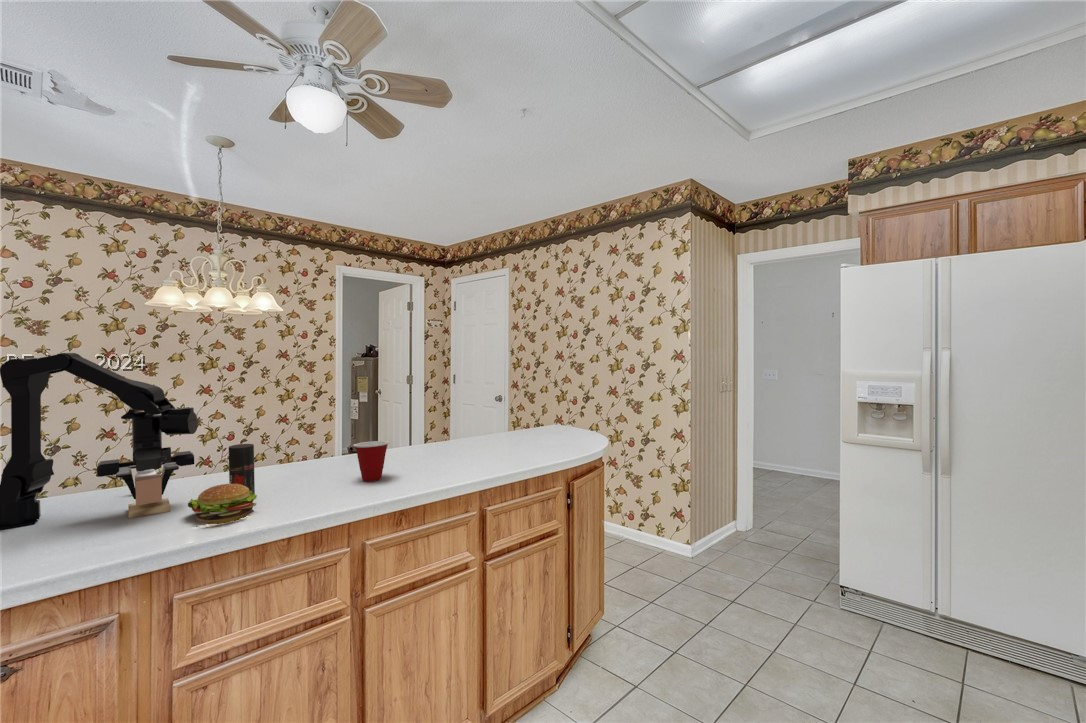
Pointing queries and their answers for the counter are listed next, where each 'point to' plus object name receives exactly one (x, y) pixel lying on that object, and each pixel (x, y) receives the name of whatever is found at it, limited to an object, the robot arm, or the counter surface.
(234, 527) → the counter surface
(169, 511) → the tower base
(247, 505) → the food
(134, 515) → the tan square slab
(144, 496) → the block
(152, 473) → the supplement bottle
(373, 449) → the plastic cup
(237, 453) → the deodorant
